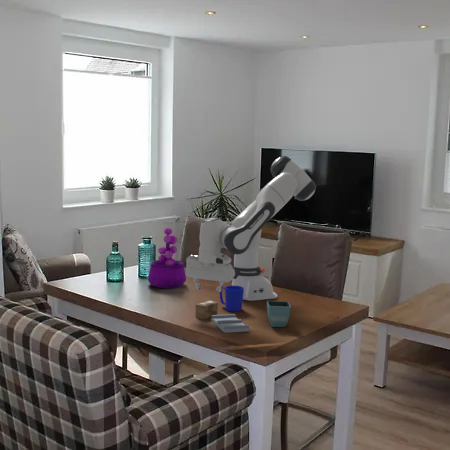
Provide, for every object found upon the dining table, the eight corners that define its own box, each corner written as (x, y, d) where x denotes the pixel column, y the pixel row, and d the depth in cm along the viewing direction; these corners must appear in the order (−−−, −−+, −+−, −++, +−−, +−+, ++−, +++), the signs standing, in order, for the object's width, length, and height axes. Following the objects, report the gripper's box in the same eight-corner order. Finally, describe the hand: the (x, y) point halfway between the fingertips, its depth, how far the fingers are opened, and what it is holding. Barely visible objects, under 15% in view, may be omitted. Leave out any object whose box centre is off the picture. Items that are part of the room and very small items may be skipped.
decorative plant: (160, 281, 319) (162, 223, 315) (192, 286, 311) (194, 227, 307) (140, 288, 302) (141, 227, 298) (173, 293, 294) (174, 231, 290)
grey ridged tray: (234, 319, 255) (234, 313, 254) (248, 331, 239) (249, 325, 238) (211, 320, 252) (211, 315, 251) (224, 332, 236) (224, 327, 235)
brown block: (209, 313, 263) (209, 299, 262) (217, 315, 260) (217, 301, 260) (195, 317, 256) (195, 303, 255) (203, 319, 253) (204, 305, 253)
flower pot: (287, 322, 252) (288, 301, 251) (290, 329, 243) (291, 306, 242) (265, 322, 252) (266, 300, 251) (267, 328, 243) (268, 306, 242)
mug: (225, 305, 277) (226, 283, 275) (246, 310, 269) (247, 287, 268) (213, 308, 270) (214, 285, 269) (235, 313, 263) (236, 290, 262)
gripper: (183, 255, 256) (182, 288, 258) (229, 261, 248) (227, 294, 250) (190, 253, 262) (188, 285, 263) (235, 258, 254) (233, 291, 256)
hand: (208, 290), depth 257 cm, fingers open, 8 cm apart
